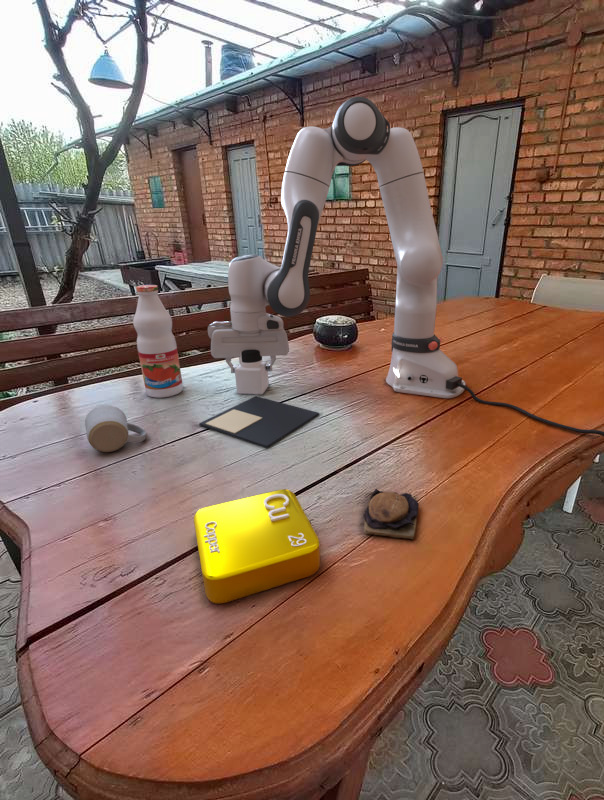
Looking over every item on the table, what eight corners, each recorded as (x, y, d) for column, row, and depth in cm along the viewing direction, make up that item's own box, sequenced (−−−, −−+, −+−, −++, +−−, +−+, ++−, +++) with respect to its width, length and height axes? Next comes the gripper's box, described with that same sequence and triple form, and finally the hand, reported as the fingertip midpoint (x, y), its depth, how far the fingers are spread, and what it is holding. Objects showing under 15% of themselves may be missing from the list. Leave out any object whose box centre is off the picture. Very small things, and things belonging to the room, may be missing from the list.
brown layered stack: (416, 542, 62) (418, 522, 60) (359, 534, 63) (360, 514, 62) (418, 498, 72) (420, 480, 70) (369, 493, 73) (369, 474, 71)
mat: (319, 414, 102) (319, 411, 102) (267, 448, 87) (267, 444, 87) (256, 398, 111) (255, 395, 111) (199, 425, 96) (198, 422, 96)
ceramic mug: (91, 458, 83) (83, 423, 80) (89, 441, 89) (81, 408, 86) (150, 445, 88) (144, 412, 85) (144, 430, 94) (138, 398, 91)
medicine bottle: (269, 385, 120) (266, 344, 115) (262, 395, 113) (259, 351, 109) (244, 384, 120) (240, 343, 116) (236, 394, 114) (232, 351, 109)
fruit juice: (182, 383, 121) (166, 282, 110) (184, 395, 113) (167, 287, 102) (146, 388, 117) (126, 284, 106) (146, 400, 109) (124, 289, 98)
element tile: (195, 532, 64) (191, 506, 62) (292, 507, 69) (290, 483, 67) (208, 610, 51) (203, 580, 49) (324, 572, 56) (324, 544, 55)
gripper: (206, 324, 104) (211, 377, 110) (289, 322, 109) (290, 373, 114) (207, 319, 110) (212, 369, 115) (286, 317, 115) (287, 366, 120)
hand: (252, 371), depth 115 cm, fingers closed on medicine bottle, 8 cm apart
